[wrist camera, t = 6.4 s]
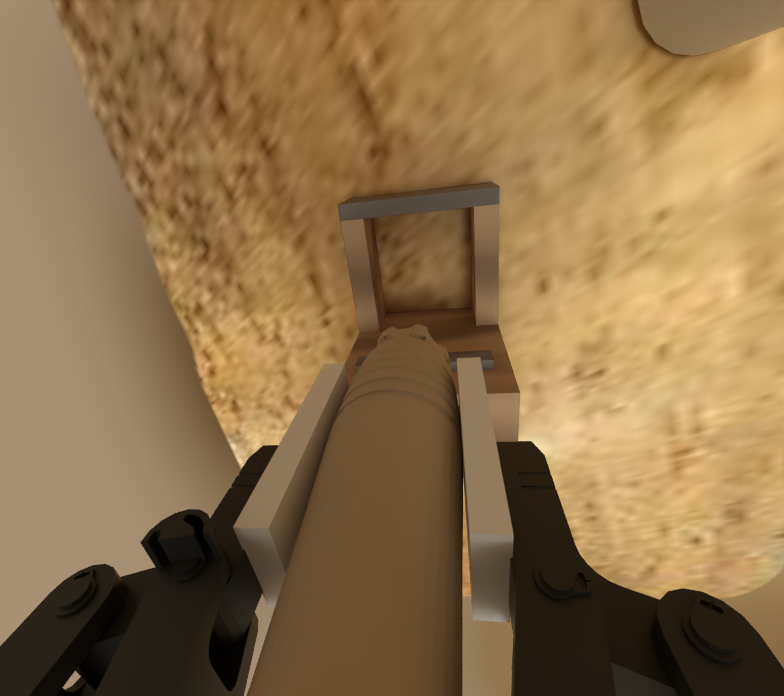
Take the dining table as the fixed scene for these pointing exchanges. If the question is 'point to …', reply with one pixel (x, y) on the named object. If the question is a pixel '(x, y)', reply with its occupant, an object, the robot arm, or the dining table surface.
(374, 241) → the wooden stand
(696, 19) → the can
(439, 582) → the handle
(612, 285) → the dining table surface
